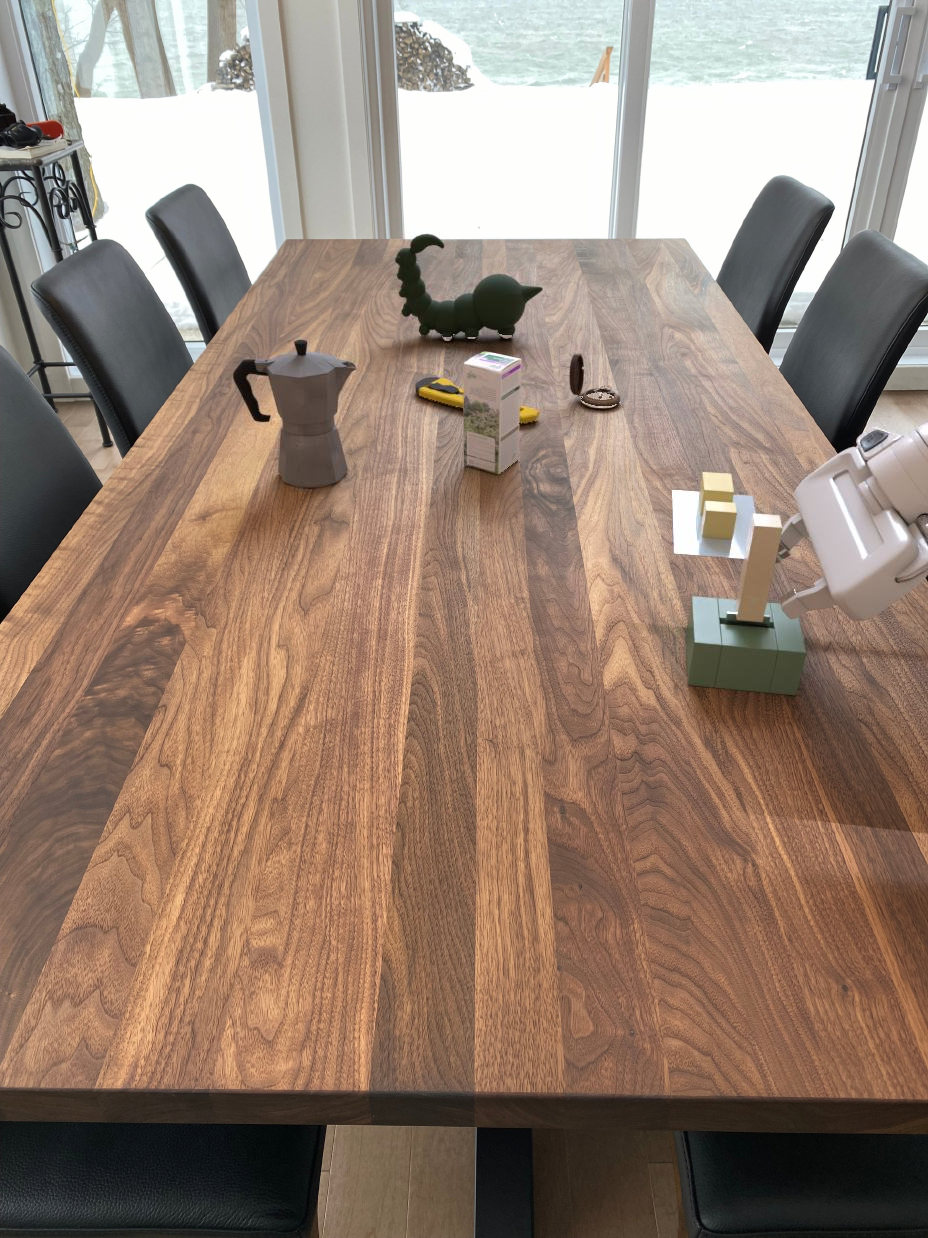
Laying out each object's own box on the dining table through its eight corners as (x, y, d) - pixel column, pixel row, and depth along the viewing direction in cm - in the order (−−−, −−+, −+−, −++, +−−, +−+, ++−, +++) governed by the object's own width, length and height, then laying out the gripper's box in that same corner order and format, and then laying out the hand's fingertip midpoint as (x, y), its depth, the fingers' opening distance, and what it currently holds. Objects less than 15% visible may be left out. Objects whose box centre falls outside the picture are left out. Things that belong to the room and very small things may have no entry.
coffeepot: (364, 457, 134) (356, 327, 124) (361, 488, 126) (352, 352, 116) (252, 459, 133) (234, 328, 123) (241, 490, 126) (221, 353, 115)
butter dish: (751, 502, 123) (752, 495, 122) (763, 568, 110) (764, 560, 109) (671, 496, 124) (672, 489, 124) (673, 560, 111) (674, 553, 111)
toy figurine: (403, 354, 173) (545, 344, 170) (389, 243, 162) (540, 230, 160) (409, 337, 181) (544, 327, 178) (395, 229, 170) (539, 217, 168)
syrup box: (520, 460, 133) (524, 356, 125) (498, 476, 129) (500, 370, 121) (484, 450, 136) (485, 348, 127) (461, 466, 132) (461, 361, 123)
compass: (616, 412, 147) (620, 365, 143) (565, 406, 149) (568, 359, 145) (626, 393, 153) (631, 348, 149) (577, 388, 155) (580, 342, 151)
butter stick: (727, 499, 122) (731, 473, 120) (729, 518, 118) (734, 491, 116) (698, 496, 122) (702, 471, 120) (700, 515, 118) (704, 489, 116)
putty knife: (758, 659, 96) (789, 515, 87) (760, 674, 94) (792, 528, 85) (716, 656, 96) (743, 512, 87) (718, 670, 94) (745, 525, 85)
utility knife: (431, 382, 157) (431, 370, 156) (551, 414, 146) (552, 402, 145) (404, 395, 152) (404, 383, 151) (526, 429, 142) (527, 416, 140)
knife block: (685, 636, 99) (691, 595, 96) (786, 646, 98) (796, 604, 95) (687, 685, 92) (694, 642, 90) (796, 696, 91) (806, 652, 88)
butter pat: (731, 529, 115) (735, 502, 113) (732, 539, 113) (737, 512, 111) (700, 526, 116) (705, 500, 114) (701, 537, 114) (705, 510, 112)
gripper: (973, 580, 75) (817, 671, 82) (904, 465, 92) (778, 548, 99) (929, 526, 73) (772, 624, 80) (866, 419, 90) (741, 507, 96)
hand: (775, 581), depth 89 cm, fingers open, 8 cm apart
